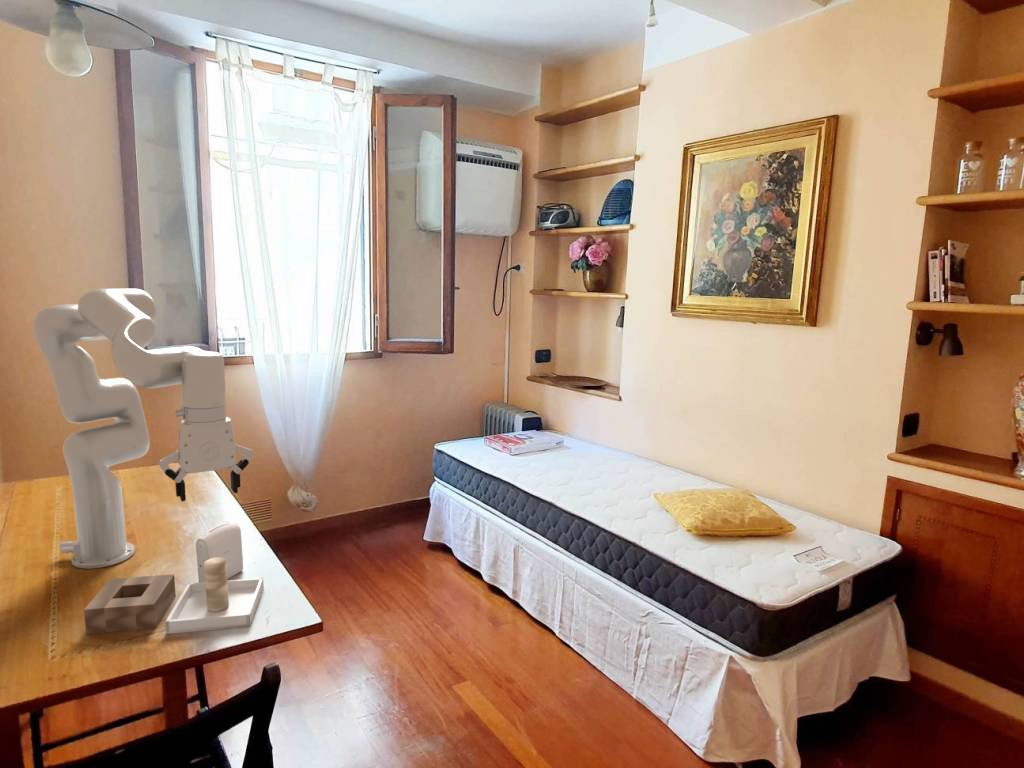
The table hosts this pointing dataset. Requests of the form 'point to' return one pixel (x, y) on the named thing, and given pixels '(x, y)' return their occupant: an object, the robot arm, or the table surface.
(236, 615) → the tray
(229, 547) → the photo printer
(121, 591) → the holder
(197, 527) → the table surface
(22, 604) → the table surface
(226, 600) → the dowel
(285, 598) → the table surface
